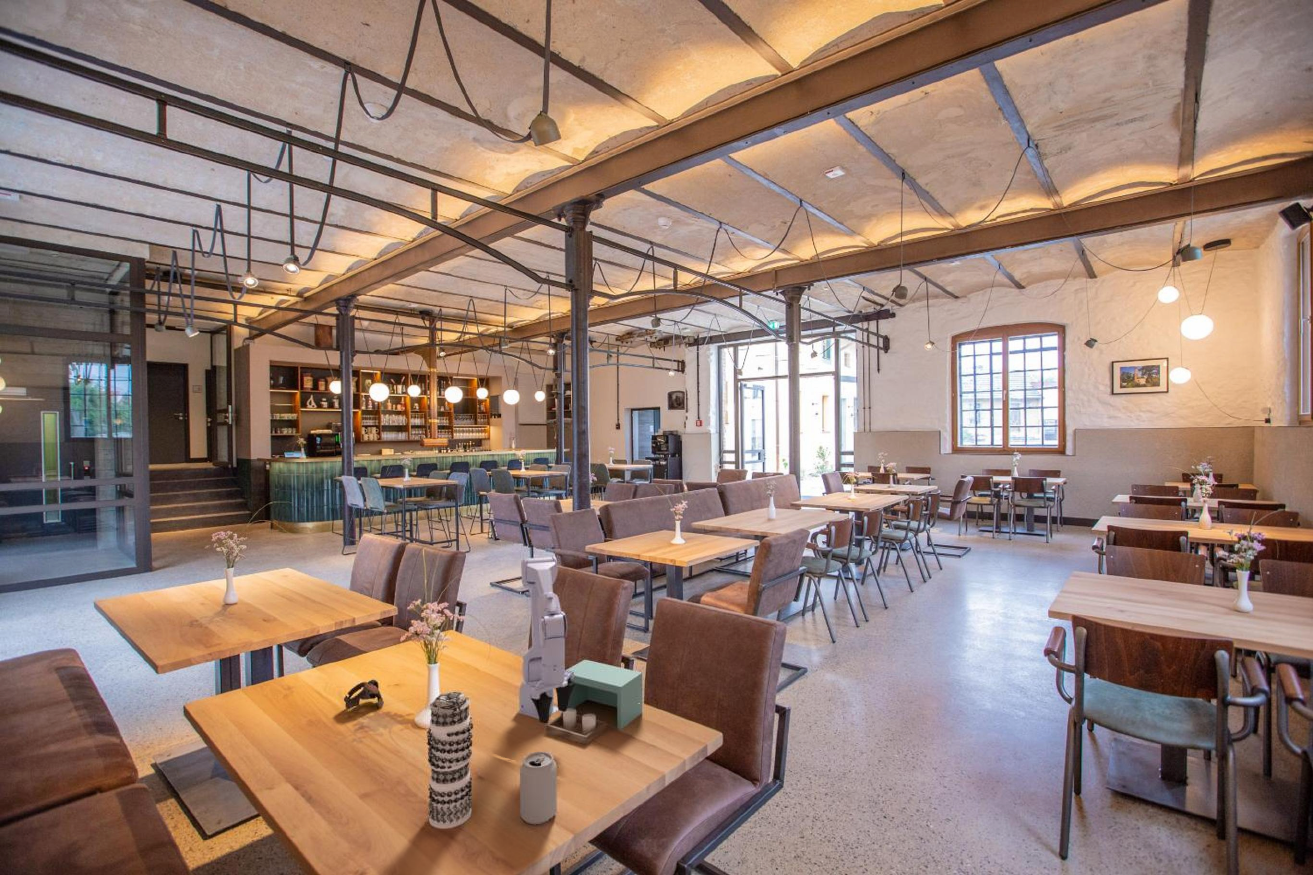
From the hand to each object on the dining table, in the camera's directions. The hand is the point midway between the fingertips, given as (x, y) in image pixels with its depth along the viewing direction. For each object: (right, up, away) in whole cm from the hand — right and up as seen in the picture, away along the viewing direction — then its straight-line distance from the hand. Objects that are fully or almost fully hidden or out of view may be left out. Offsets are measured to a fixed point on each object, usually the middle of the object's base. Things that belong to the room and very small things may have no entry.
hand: (553, 716), depth 152 cm
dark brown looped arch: (-59, -9, +24) cm, 64 cm away
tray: (+5, -8, +8) cm, 13 cm away
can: (+1, -9, -26) cm, 27 cm away
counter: (+11, -8, +19) cm, 23 cm away
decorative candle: (-17, -9, -26) cm, 32 cm away
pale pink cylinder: (+8, -8, +8) cm, 14 cm away
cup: (+3, -8, +11) cm, 14 cm away
